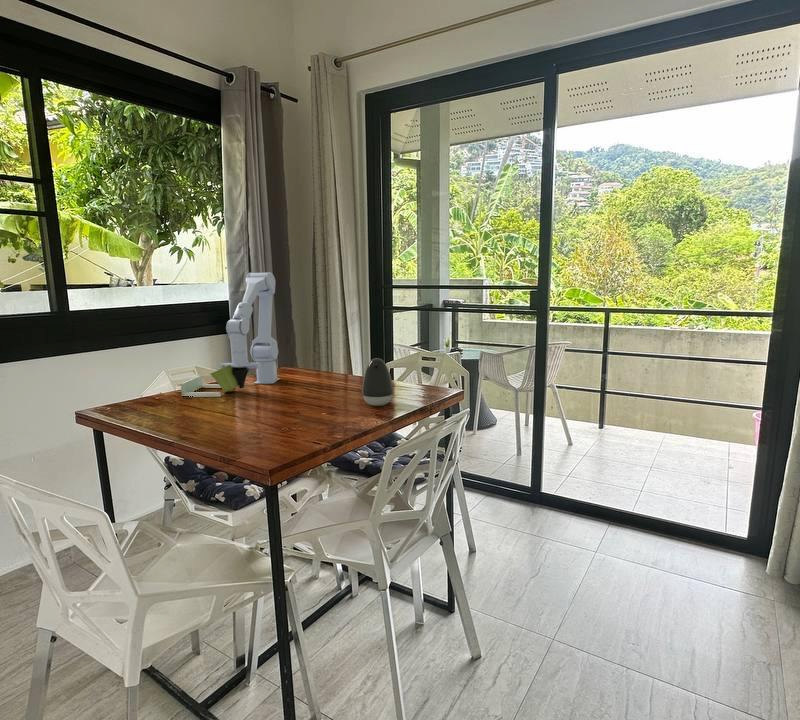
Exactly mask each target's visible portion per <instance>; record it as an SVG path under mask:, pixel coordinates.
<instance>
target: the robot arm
mask: <svg viewBox="0 0 800 720" xmlns="http://www.w3.org/2000/svg"><path fill="white" fill-rule="evenodd" d="M245 284H246V290H245V292H244V296H243V299H242V302H239V303H238V304H237V306H236V308H235V311H234V313H233V316H232V318H231V319H229V320H228V321H227V322H226V326H225V329H226V330H225V331H226V333H227V335H228V339H229V340H230V354H231V362H222V363H219V369H221V368H223V367H225V366H228V365H230V366H231V367H233V370H232V373H233V374H234V376H235V377H236V379H237V381H238V384H239V386H238V387H239V389H244V388H245V382H246V378H247V376H248V373H249V371H250V369H256V371H255V372H256V381H255V382H253V385H257V384H260V385H261V384H263V385H265V384H266V385H268V384H275V383H276V382H277V381H278V380H280V378H279V377H278V374H277V373H278V372H277V370H278V369H277V363H276V359H277V358H278V356H279V348H278V340H276V339H275V338H274V337H273V336H272V319H273V295H274V294H275V293H276V278H275V275H274V274H273V273H272V272H271V271H268V272H248V273H247V275H246V277H245ZM257 296H258V297H259V299H258V300H259V302H258V322H257V323H258V326H257V335H256V337H255V338H254V339H252V341H251V346H250V356H251V358H252V360H253V362H250V361H249V354H248V342H247V341H248V340H247V334H248V333H249V331H250V319H251V317H252V313H253V311H254V308H253V306H252V305H253V304H254V301H255V300H256V297H257Z"/></svg>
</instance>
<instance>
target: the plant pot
mask: <svg viewBox="0 0 800 720" xmlns="http://www.w3.org/2000/svg"><path fill="white" fill-rule="evenodd" d="M232 370H233V367H231V366H230V365H228V366H225V367H223V368H221V369H220V368H219V369H217V370H215V371H213V372H211V373H209V375H211V377H212V378H213V379H214V380H215V381H216V383H217V384H219V385H220V387H221V388H222V391H223V392H224V393H227V392H229V391H231V390H234V389H236V388H238V387H239V384H238V381H237V379H236V377H235V376H234V374H233V373H232Z"/></svg>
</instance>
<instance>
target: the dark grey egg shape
mask: <svg viewBox="0 0 800 720" xmlns="http://www.w3.org/2000/svg"><path fill="white" fill-rule="evenodd" d="M364 372H365V373H364V377H363V380H362V388H361V394H362V396H363V399H364V402H366V403H367V404H368V405H370V406H372V407H382V406H386V405H387V404H389V403H390V401H391V399H392V398H393V394H394V385H393V381H392V377H391V376H392V375H391V373H390V370H389V368H388V366H387V364H386V363H385V361H384V360H383V359H381V358H378V357H375V358H372V359H370V361H369V362H368V364H367V366H366V368H365V371H364Z"/></svg>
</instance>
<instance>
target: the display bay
mask: <svg viewBox="0 0 800 720" xmlns="http://www.w3.org/2000/svg"><path fill="white" fill-rule="evenodd" d="M201 387H205V388H221V387H220V385H219V384H218V383H217V384H216V383H213V384H212V383H211V384H210V383H208V384H207V383H206V384H203V379H202V375H197V376H194V377H193V378H191V379H188V380H186V381H184V382H181V383H180V391H181V392H180V393H181V397H182V396H189V397H188V398H205V397H206V398H213V397H214V398H216V397H218V398H219V397H222V392H221V391H203V392H202V391H200V392H199V391H196V392H194V391H195V390H197V389H199V388H201ZM190 396H191V397H190ZM192 396H193V397H192Z"/></svg>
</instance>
